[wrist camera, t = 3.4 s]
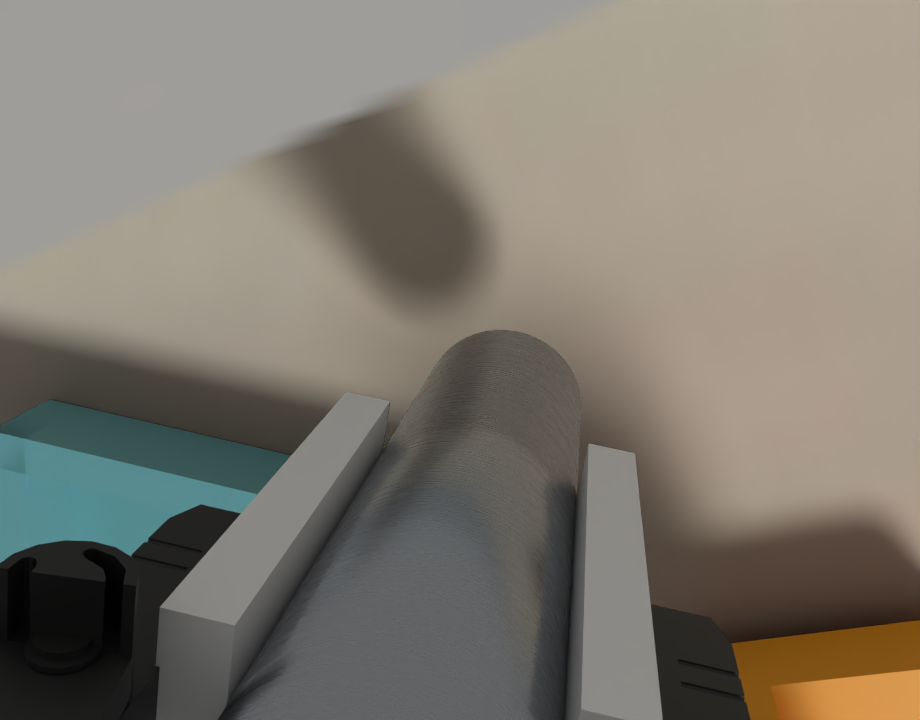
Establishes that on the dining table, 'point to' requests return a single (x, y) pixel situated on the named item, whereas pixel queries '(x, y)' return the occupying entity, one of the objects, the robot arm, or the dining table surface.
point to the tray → (114, 477)
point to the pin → (444, 559)
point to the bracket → (834, 674)
